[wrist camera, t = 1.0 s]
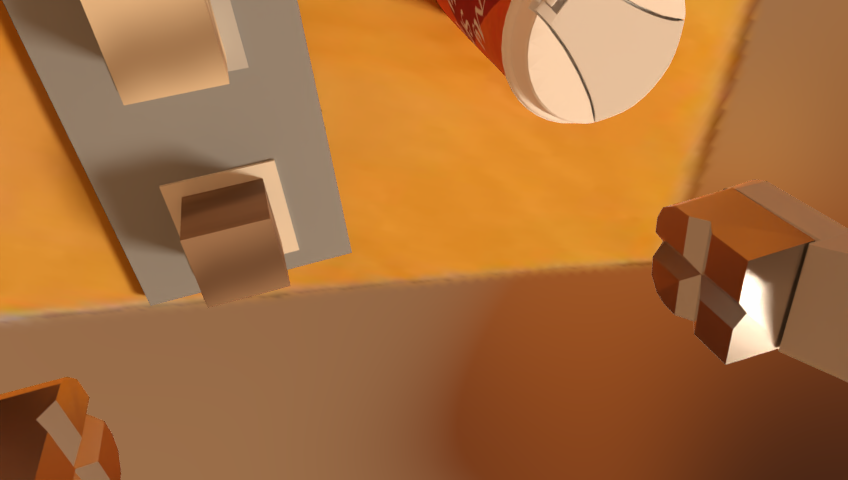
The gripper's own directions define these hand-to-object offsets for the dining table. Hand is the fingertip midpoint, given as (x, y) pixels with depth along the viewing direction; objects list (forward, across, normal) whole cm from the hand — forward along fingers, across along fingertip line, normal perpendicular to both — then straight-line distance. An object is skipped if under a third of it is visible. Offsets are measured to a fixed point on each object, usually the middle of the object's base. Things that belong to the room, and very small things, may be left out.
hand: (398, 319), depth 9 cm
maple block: (+30, +5, +1) cm, 30 cm away
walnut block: (+30, +5, +14) cm, 34 cm away
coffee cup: (+31, -13, +2) cm, 34 cm away
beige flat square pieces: (+31, +5, +8) cm, 33 cm away
